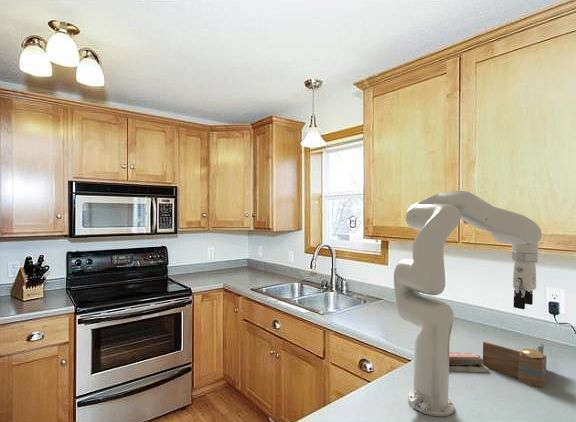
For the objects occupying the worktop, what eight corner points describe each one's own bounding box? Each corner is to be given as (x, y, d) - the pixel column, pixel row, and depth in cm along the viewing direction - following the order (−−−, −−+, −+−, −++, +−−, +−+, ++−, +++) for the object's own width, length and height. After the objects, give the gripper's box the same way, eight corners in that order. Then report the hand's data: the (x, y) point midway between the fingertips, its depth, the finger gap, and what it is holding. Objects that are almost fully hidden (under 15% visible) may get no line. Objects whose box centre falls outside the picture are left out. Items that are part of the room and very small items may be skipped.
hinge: (541, 388, 111) (542, 361, 111) (479, 368, 124) (480, 344, 124) (552, 371, 123) (553, 346, 123) (495, 354, 137) (496, 332, 137)
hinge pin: (540, 386, 111) (541, 357, 111) (519, 379, 115) (519, 351, 115) (544, 380, 115) (545, 352, 115) (523, 374, 119) (524, 346, 119)
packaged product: (439, 358, 122) (428, 347, 132) (439, 372, 122) (428, 359, 132) (489, 360, 121) (475, 348, 131) (489, 373, 121) (475, 361, 131)
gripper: (530, 260, 109) (529, 313, 109) (543, 257, 121) (542, 304, 121) (504, 258, 115) (503, 307, 115) (519, 254, 127) (517, 300, 126)
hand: (523, 306), depth 118 cm, fingers open, 9 cm apart
